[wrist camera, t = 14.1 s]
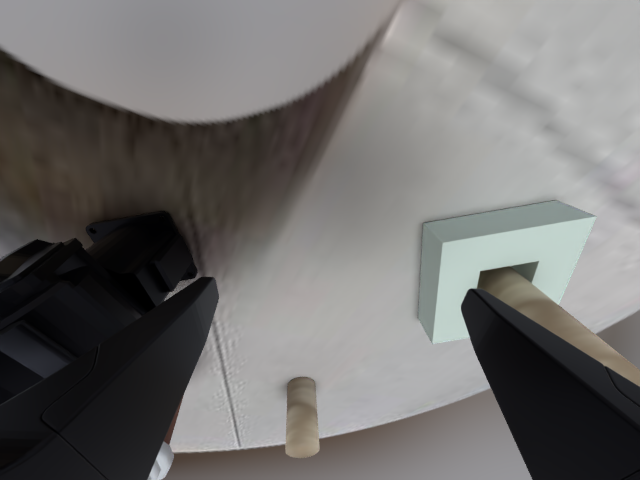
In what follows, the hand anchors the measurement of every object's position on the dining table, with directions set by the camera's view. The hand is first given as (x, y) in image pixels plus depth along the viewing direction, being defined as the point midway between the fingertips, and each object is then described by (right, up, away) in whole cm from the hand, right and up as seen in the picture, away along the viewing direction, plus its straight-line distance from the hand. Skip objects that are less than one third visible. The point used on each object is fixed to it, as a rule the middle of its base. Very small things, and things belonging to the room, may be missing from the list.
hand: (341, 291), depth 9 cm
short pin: (-3, -17, +24) cm, 30 cm away
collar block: (+15, -1, +17) cm, 23 cm away
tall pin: (+15, -1, +17) cm, 23 cm away
